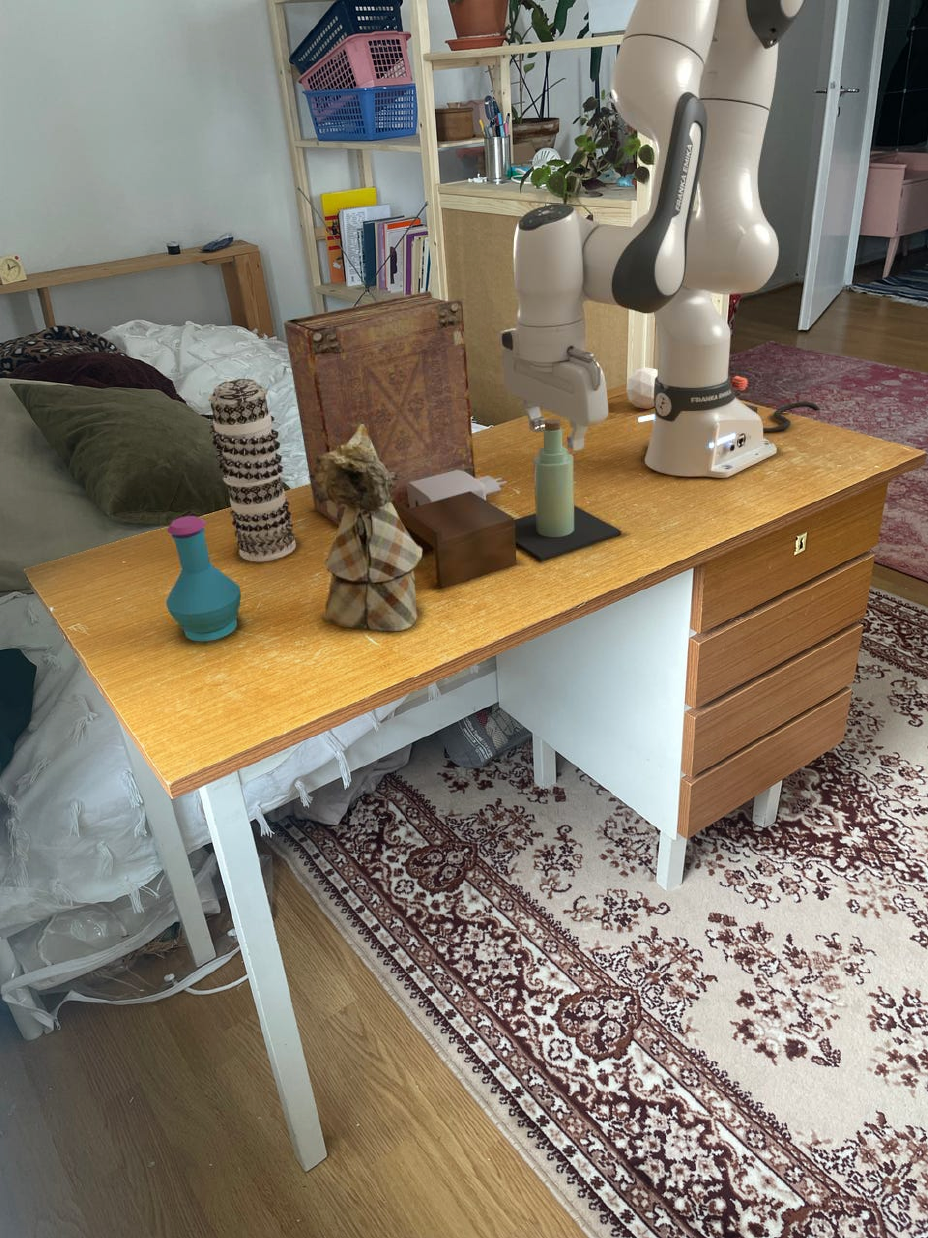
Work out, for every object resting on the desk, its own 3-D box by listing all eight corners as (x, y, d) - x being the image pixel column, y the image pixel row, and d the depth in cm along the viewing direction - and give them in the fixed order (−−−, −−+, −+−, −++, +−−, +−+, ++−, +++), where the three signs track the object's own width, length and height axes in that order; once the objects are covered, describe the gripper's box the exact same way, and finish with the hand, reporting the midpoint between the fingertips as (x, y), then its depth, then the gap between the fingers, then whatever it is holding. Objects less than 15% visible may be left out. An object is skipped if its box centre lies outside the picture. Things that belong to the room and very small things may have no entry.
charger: (519, 503, 148) (434, 528, 143) (490, 485, 156) (408, 508, 150) (517, 475, 146) (431, 499, 140) (489, 458, 153) (405, 480, 148)
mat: (569, 506, 146) (569, 502, 146) (621, 534, 136) (621, 530, 136) (492, 530, 141) (492, 526, 140) (540, 561, 131) (540, 557, 130)
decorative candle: (232, 543, 143) (197, 380, 131) (292, 530, 146) (263, 370, 133) (240, 567, 136) (203, 398, 123) (303, 554, 138) (274, 386, 125)
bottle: (560, 517, 141) (557, 411, 133) (582, 530, 137) (581, 421, 129) (528, 527, 139) (524, 420, 131) (550, 540, 135) (547, 430, 127)
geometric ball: (653, 422, 184) (661, 398, 177) (616, 406, 185) (622, 381, 178) (668, 394, 187) (677, 369, 179) (631, 378, 188) (639, 352, 181)
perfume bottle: (261, 623, 121) (239, 517, 114) (201, 654, 116) (174, 545, 108) (219, 603, 127) (195, 500, 119) (160, 632, 121) (131, 526, 114)
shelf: (473, 534, 140) (469, 481, 136) (516, 563, 131) (514, 508, 126) (401, 556, 135) (395, 502, 131) (441, 589, 126) (435, 532, 122)
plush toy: (467, 606, 119) (415, 413, 110) (384, 653, 112) (321, 451, 103) (401, 594, 130) (349, 417, 121) (321, 636, 122) (259, 451, 113)
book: (446, 469, 163) (431, 290, 148) (476, 484, 156) (463, 298, 141) (314, 510, 152) (283, 320, 137) (340, 528, 145) (310, 331, 130)
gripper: (619, 350, 118) (620, 454, 125) (530, 322, 133) (535, 415, 141) (578, 361, 115) (581, 467, 122) (492, 331, 131) (499, 426, 138)
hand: (556, 439), depth 132 cm, fingers open, 8 cm apart
